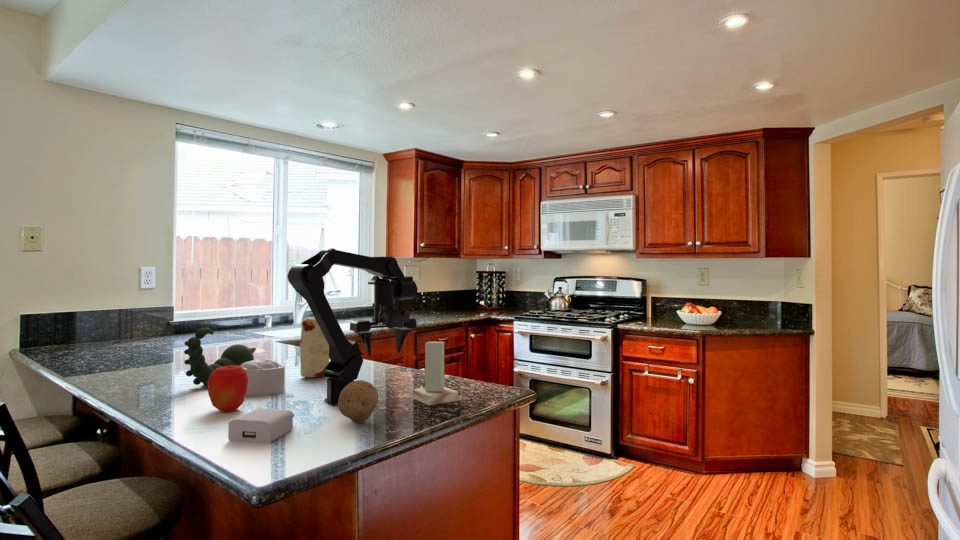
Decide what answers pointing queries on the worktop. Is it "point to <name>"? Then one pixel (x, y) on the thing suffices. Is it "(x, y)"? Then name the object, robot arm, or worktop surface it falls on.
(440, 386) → the green pillar
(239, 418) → the charger
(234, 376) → the apple
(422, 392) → the birch block
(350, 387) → the natural sponge
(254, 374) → the lumpy-topped squat cylinder
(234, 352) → the toy figurine
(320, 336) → the food model
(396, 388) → the worktop surface
